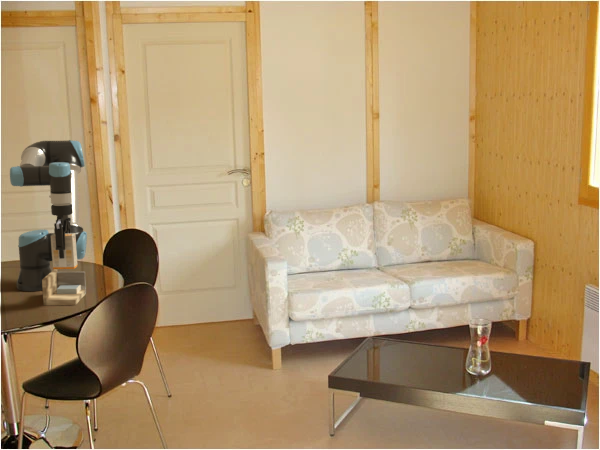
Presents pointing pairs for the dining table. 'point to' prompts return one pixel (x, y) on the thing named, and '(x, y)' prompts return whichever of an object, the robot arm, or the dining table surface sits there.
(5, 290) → the dining table surface
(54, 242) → the supplement box
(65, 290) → the flat book
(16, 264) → the dining table surface
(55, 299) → the shelf
